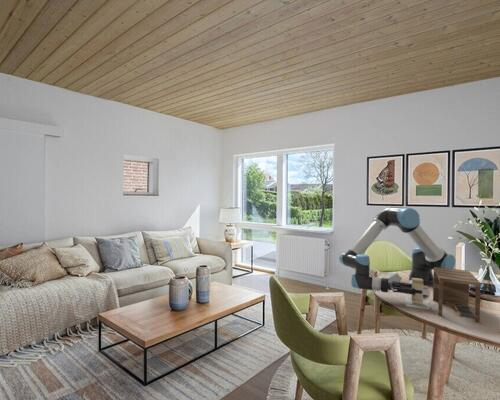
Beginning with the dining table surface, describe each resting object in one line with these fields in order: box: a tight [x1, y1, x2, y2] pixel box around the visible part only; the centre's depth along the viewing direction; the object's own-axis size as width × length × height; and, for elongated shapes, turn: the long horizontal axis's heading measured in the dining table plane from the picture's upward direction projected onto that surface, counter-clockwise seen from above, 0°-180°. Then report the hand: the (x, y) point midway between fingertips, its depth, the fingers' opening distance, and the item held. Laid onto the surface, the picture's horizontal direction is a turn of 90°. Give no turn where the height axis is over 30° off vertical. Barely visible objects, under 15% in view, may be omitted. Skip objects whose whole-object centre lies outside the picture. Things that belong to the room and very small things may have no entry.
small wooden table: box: [432, 267, 482, 324], centre depth 151 cm, size 25×16×18 cm, turn 154°
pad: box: [404, 298, 431, 310], centre depth 159 cm, size 12×11×1 cm
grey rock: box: [385, 271, 402, 282], centre depth 195 cm, size 8×9×10 cm
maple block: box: [410, 278, 424, 304], centre depth 159 cm, size 5×5×12 cm
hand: (428, 291), depth 156 cm, fingers closed on maple block, 5 cm apart
